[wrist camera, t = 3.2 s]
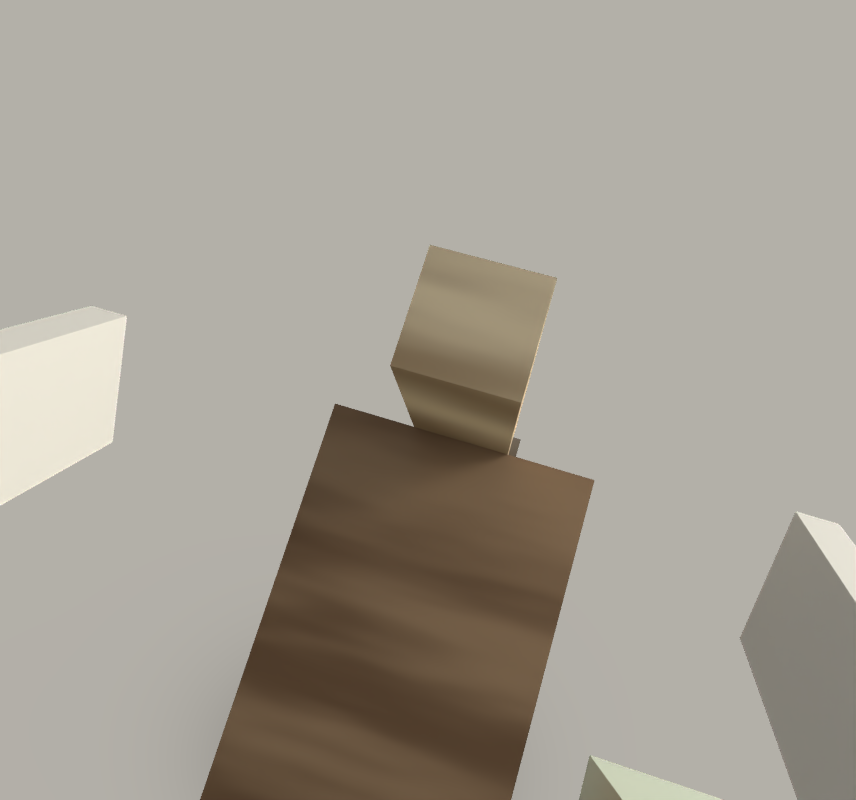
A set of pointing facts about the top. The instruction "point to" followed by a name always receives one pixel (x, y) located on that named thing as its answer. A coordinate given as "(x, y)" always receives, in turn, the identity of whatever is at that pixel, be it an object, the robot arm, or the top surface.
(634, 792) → the pale green rectangular prism
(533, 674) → the stand
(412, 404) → the light wooden bar
